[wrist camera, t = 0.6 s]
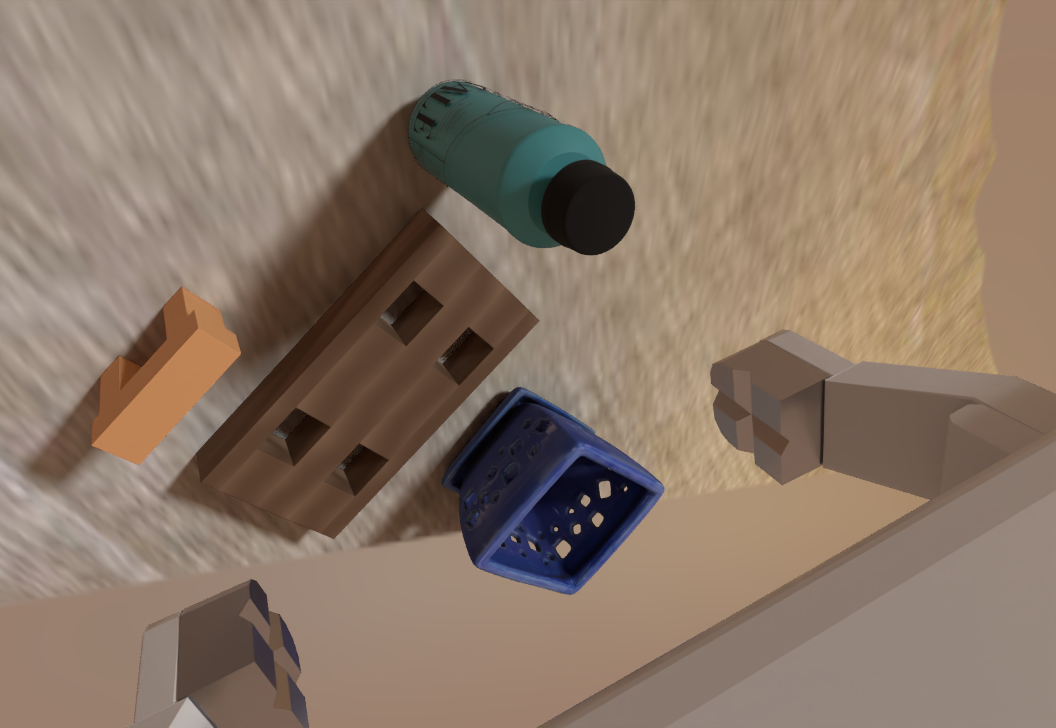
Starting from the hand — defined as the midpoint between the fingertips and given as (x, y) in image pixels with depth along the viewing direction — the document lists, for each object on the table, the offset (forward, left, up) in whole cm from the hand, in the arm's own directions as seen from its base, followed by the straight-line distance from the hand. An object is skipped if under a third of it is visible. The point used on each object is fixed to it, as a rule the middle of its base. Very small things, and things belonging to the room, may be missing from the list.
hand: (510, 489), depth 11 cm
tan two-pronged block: (+7, -15, -37) cm, 40 cm away
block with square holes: (+20, -9, -37) cm, 42 cm away
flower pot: (+37, -7, -37) cm, 52 cm away
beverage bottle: (+11, +8, -37) cm, 39 cm away
